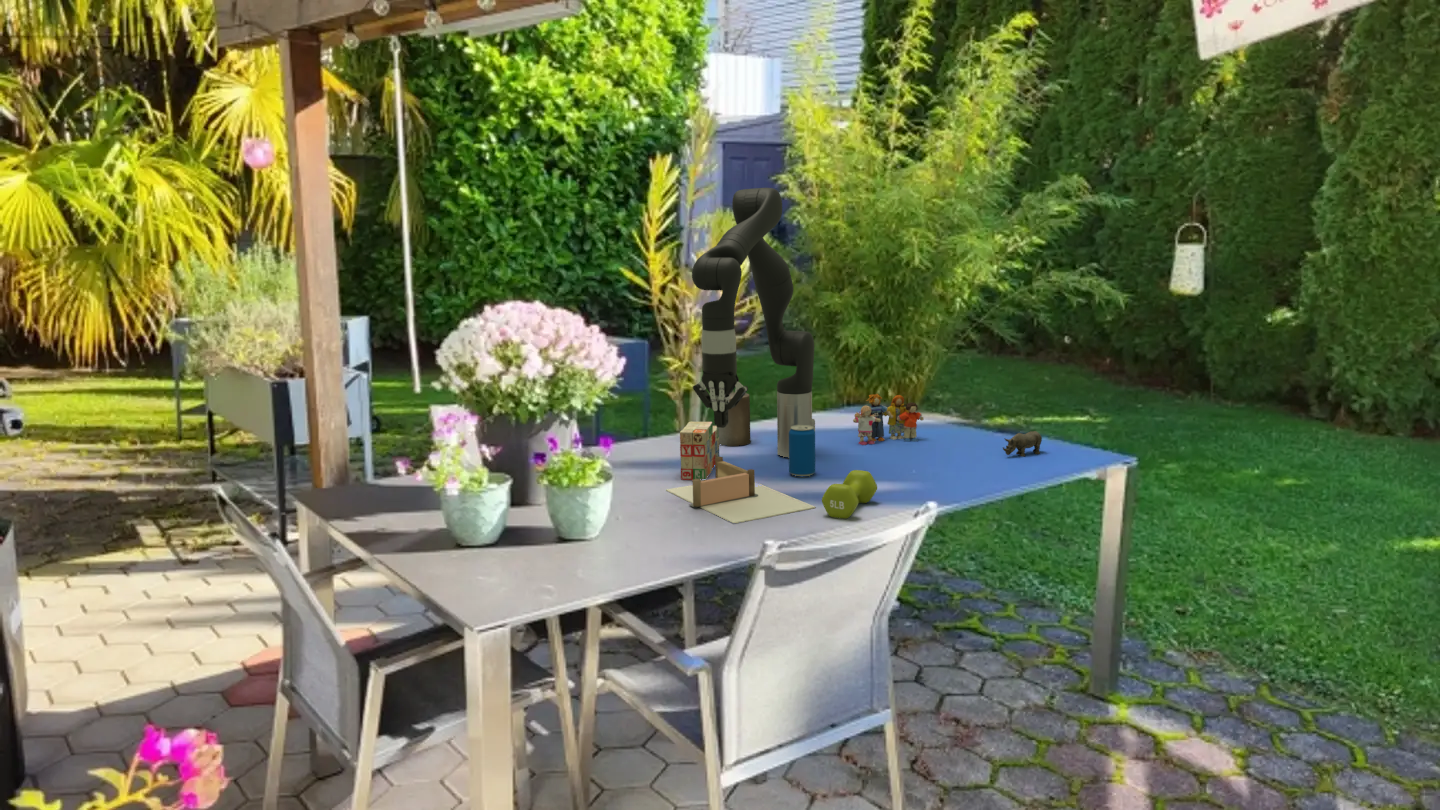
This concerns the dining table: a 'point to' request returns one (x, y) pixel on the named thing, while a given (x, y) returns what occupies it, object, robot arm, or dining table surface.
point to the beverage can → (802, 450)
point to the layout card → (748, 504)
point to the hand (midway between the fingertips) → (721, 426)
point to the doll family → (898, 420)
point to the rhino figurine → (1023, 443)
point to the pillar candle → (737, 424)
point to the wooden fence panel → (734, 472)
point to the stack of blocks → (698, 449)
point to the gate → (720, 489)
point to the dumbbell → (849, 494)
